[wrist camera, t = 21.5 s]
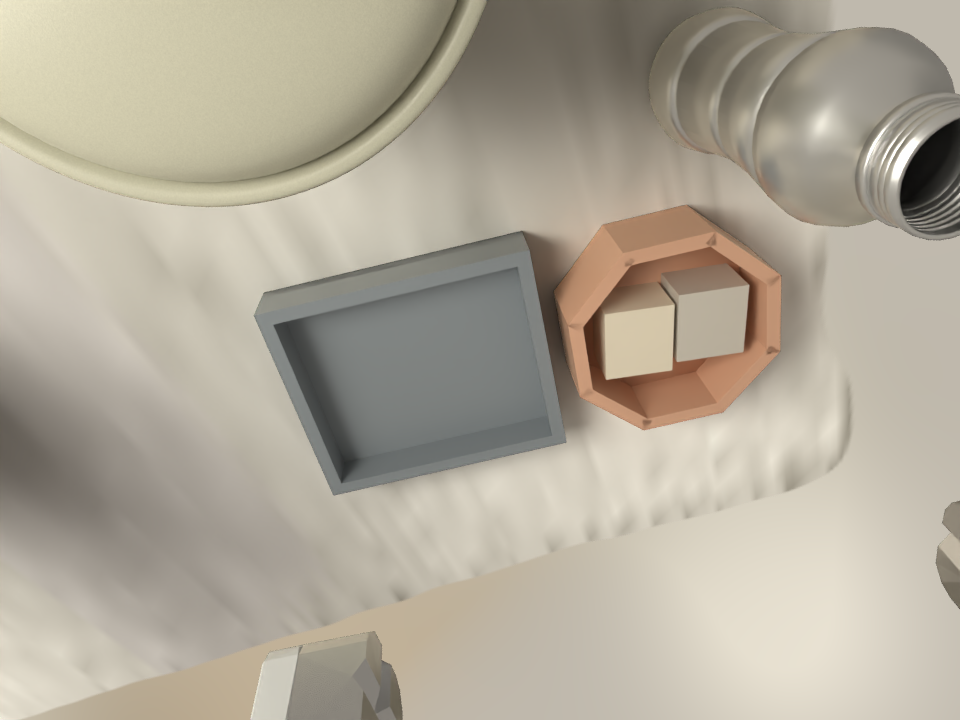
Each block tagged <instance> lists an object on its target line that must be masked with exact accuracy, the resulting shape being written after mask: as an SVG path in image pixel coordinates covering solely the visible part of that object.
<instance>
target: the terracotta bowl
mask: <svg viewBox="0 0 960 720" xmlns="http://www.w3.org/2000/svg"><path fill="white" fill-rule="evenodd" d="M725 263H727V264H728V265H729V266H730V267H731V268H732V269H733V270H734V271H735V272H736V273H737V274H739V275H740V276H741V277H742V278H743V279H744V280H745V281H746V282H747V283H748V284H749V294H748V306H747V317H746V329H745V340H744V351H743V352H741V353H734V354H728V355H721V356H714V357H708V358H701V359H695V360H688V361H681V362H677V361H676V360H675V358H674V357H673V363H672V370H671V371H664V372H657V373H650V374H643V375H636V376H629V377H623V378H616V379H609V380H606V379H605V376H604V374H603V372H602V370H601V368H600V365H599V363H598V361H597V359H596V357H595V355H594V341H593V314H594V312H595V311H596V310H597V309H598V307H599V306H600V305H601V303H602V302H603V301H604V300H605V298H606V297H607V296H608V294H609V293H610V292H611V291H612V289H613V288H615V287H622V286H629V285H636V284H643V283H650V282H658V283H659V285H660V286H661V273H665V272H672V271H678V270H685V269H691V268H698V267H705V266H711V265H718V264H725ZM554 297H555V302H556V308H557V313H558V319H559V325H560V330H561V336H562V341H563V347H564V353H565V358H566V362H567V364H568V367H569V370H570V372H571V375H572V377H573V380H574V383H575V385H576V388H577V390H578V393H579V396H580V398H582V399H584V400H586V401H588V402H590V403H592V404H594V405H596V406H598V407H600V408H602V409H604V410H606V411H608V412H609V413H611V414H613V415H615V416H617V417H619V418H621V419H623V420H625V421H627V422H629V423H631V424H633V425H634V426H636V427H638V428H640V429H642V430H647V429H652V428H656V427H661V426H665V425H669V424H674V423H678V422H683V421H687V420H691V419H696V418H700V417H705V416H709V415H713V414H718V413H722V412H724V411H725V410H726V409H727V408H728V406H729V405H730V404H731V403H732V402H733V401H734V400H735V399H736V398H737V397H738V396H739V395H740V394H741V393H742V392H743V391H744V389H745V388H746V387H747V386H748V385H749V384H750V383H751V382H752V381H753V380H754V379H755V378H756V377H757V376H758V375H759V373H760V372H761V371H762V370H763V369H764V368H765V367H766V366H767V365H768V364H769V363H770V362H771V361H772V360H773V359H774V358H775V356H776V355H777V354H778V353H779V352H780V329H781V275H780V274H779V273H778V272H777V271H775V270H774V269H773V268H772V267H771V266H770V265H768V264H767V263H766V262H765V261H764V260H763V259H761V258H760V257H759V256H758V255H757V254H756V253H754V252H753V251H752V250H751V249H750V248H748V247H747V246H746V245H744V244H743V243H741V242H740V241H738V240H737V239H735V238H734V237H733V236H731V235H730V234H728V233H727V232H725V231H724V230H722V229H721V228H719V227H718V226H717V225H715V224H714V223H712V222H711V221H709V220H708V219H706V218H705V217H703V216H702V215H700V214H699V213H698V212H696V211H695V210H693V209H692V208H690V207H689V206H687V205H684V206H679V207H675V208H671V209H667V210H663V211H659V212H654V213H650V214H646V215H642V216H638V217H633V218H629V219H625V220H621V221H617V222H613V223H608V224H604V225H602V227H601V228H600V229H599V231H598V232H597V233H596V235H595V236H594V237H593V239H592V240H591V242H590V243H589V244H588V246H587V247H586V248H585V250H584V251H583V252H582V254H581V255H580V257H579V258H578V259H577V261H576V262H575V263H574V265H573V266H572V267H571V269H570V270H569V272H568V273H567V274H566V276H565V277H564V278H563V280H562V281H561V282H560V284H559V285H558V286H557V288H556V289H555V291H554Z"/></svg>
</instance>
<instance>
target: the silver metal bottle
mask: <svg viewBox="0 0 960 720" xmlns="http://www.w3.org/2000/svg"><path fill="white" fill-rule="evenodd" d="M649 97H650V102H651V107H652V109H653V111H654V114H655V116H656V118H657V120H658V122H659V123H660V125H661V126H662V128H663V129H664V131H665V132H666V134H667V135H668V136H669V137H670V138H672V139H673V140H674V141H675V142H676V143H678V144H680V145H682V146H683V147H685V148H688V149H692V150H696V151H699V152H703V153H707V154H717V155H720V156H723V157H726V158H728V159H731V160H732V161H733V162H735V163H736V164H737V165H738V166H740V167H741V168H742V169H744V170H745V171H746V172H748V174H749V175H750V176H751V177H752V178H753V179H754V180H755V182H756V183H757V184H758V185H759V186H760V187H761V188H762V190H763V191H764V192H765V193H766V194H767V196H768V197H769V198H771V199H772V200H773V201H774V202H775V203H776V204H777V205H778V206H779V207H781V208H782V209H783V210H784V211H785V212H786V213H788V214H789V215H791V216H793V217H794V218H796V219H798V220H800V221H802V222H806V223H810V224H814V225H822V226H838V227H849V226H855V225H860V224H865V223H867V222H870V221H873V220H876V219H877V220H879V221H881V222H883V223H884V224H886V225H888V226H892V227H896V228H900V229H902V230H904V231H905V232H907V233H909V234H911V235H912V236H915V237H919V238H923V239H926V240H944V239H950V238H954V237H956V236H959V235H960V95H959V94H956V93H955V91H954V87H953V82H952V79H951V77H950V75H949V72H948V70H947V68H946V66H945V65H944V63H943V62H942V61H941V60H940V59H939V57H938V56H937V55H936V54H935V53H934V52H933V51H932V50H931V49H929V48H928V47H927V46H926V45H925V44H923V43H922V42H920V41H919V40H918V39H916V38H915V37H913V36H912V35H910V34H908V33H905V32H902V31H899V30H896V29H892V28H879V27H870V28H869V27H868V28H867V27H864V28H863V27H859V28H853V29H846V30H838V31H831V32H824V33H817V34H806V33H789V32H786V31H784V30H781V29H778V28H776V27H774V26H773V25H772V24H770V23H769V22H767V21H766V20H764V19H763V18H761V17H759V16H757V15H755V14H753V13H752V12H749V11H746V10H743V9H740V8H734V7H722V8H716V9H711V10H708V11H705V12H702V13H700V14H697V15H695V16H692V17H690V18H688V19H687V20H685V21H684V22H682V23H681V24H679V25H678V26H677V27H676V28H675V29H674V30H673V31H672V32H671V33H670V34H669V35H668V36H667V38H666V39H665V40H664V42H663V43H662V44H661V46H660V48H659V50H658V52H657V54H656V56H655V58H654V61H653V64H652V67H651V71H650V78H649Z"/></svg>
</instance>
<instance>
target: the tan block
mask: <svg viewBox="0 0 960 720" xmlns="http://www.w3.org/2000/svg"><path fill="white" fill-rule="evenodd" d="M674 308H675V304H674V303H673V302H672V300H671V299H670V298H669V297H668V295H667V294H666V293H665V291H664V290H663V289H662V287H661V286H660V285H659V283H658V282H650V283H643V284H636V285H629V286H622V287H615V288H613V289H612V291H611V292H610V293H609V294H608V296H607V297H606V298H605V300H604V301H603V302H602V303H601V305H600V306H599V307H598V309H597V310H596V311H595V312H594V314H593V341H594V355H595V357H596V359H597V361H598V363H599V365H600V368H601V370H602V372H603V374H604V376H605V379H606V380H609V379H616V378H623V377H629V376H636V375H643V374H650V373H657V372H664V371H671V370H672V363H673V335H674Z"/></svg>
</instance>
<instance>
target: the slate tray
mask: <svg viewBox="0 0 960 720" xmlns="http://www.w3.org/2000/svg"><path fill="white" fill-rule="evenodd" d="M254 317H255V319H256V322H257V324H258V326H259V328H260V331H261V333H262V335H263V337H264V340H265V342H266V344H267V346H268V349H269V351H270V353H271V356H272V358H273V360H274V362H275V365H276V367H277V369H278V371H279V374H280V376H281V378H282V380H283V383H284V385H285V387H286V389H287V392H288V394H289V396H290V398H291V401H292V403H293V405H294V407H295V410H296V412H297V414H298V416H299V419H300V421H301V423H302V426H303V428H304V430H305V432H306V435H307V437H308V439H309V441H310V444H311V446H312V448H313V450H314V453H315V455H316V457H317V459H318V462H319V464H320V466H321V468H322V471H323V473H324V475H325V477H326V480H327V482H328V484H329V486H330V489H331V491H332V493H333V495H338V494H342V493H347V492H351V491H355V490H360V489H364V488H369V487H373V486H377V485H382V484H386V483H391V482H395V481H399V480H404V479H408V478H413V477H417V476H421V475H426V474H430V473H435V472H439V471H443V470H448V469H452V468H457V467H461V466H465V465H470V464H474V463H479V462H483V461H487V460H492V459H496V458H500V457H505V456H509V455H514V454H518V453H522V452H527V451H531V450H536V449H540V448H544V447H549V446H553V445H558V444H562V443H566V437H565V432H564V427H563V422H562V417H561V411H560V406H559V401H558V396H557V391H556V385H555V380H554V375H553V370H552V365H551V359H550V354H549V349H548V344H547V339H546V333H545V328H544V323H543V318H542V313H541V308H540V302H539V297H538V292H537V287H536V282H535V276H534V271H533V266H532V261H531V256H530V250H529V248H528V245H527V243H526V240H525V238H524V235H523V233H522V231H520V232H515V233H511V234H507V235H503V236H499V237H495V238H490V239H486V240H482V241H478V242H474V243H470V244H465V245H461V246H457V247H453V248H449V249H444V250H440V251H436V252H432V253H428V254H424V255H419V256H415V257H411V258H407V259H403V260H399V261H394V262H390V263H386V264H382V265H378V266H374V267H369V268H365V269H361V270H357V271H353V272H349V273H344V274H340V275H336V276H332V277H328V278H324V279H319V280H315V281H311V282H307V283H303V284H299V285H294V286H290V287H286V288H282V289H278V290H274V291H269V292H265V293H264V294H263V296H262V298H261V301H260V303H259V305H258V307H257V310H256V312H255V314H254Z"/></svg>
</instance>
